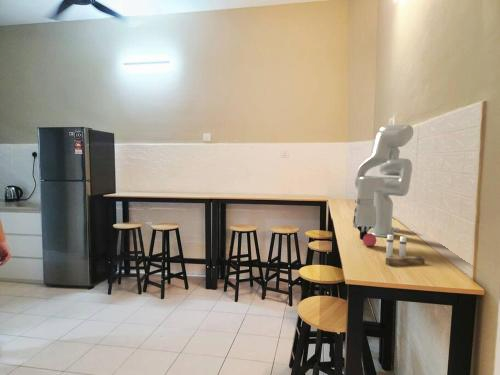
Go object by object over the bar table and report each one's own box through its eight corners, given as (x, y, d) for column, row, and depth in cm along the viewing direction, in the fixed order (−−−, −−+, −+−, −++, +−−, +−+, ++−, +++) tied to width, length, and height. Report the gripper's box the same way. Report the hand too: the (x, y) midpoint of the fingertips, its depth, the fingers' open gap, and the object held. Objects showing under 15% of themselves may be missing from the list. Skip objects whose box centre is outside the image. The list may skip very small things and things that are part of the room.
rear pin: (402, 257, 133) (403, 236, 132) (406, 259, 130) (408, 237, 129) (397, 257, 132) (398, 236, 131) (401, 259, 130) (402, 238, 129)
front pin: (389, 254, 136) (391, 234, 135) (393, 256, 133) (395, 235, 132) (384, 255, 135) (385, 234, 134) (388, 257, 133) (389, 236, 132)
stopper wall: (420, 262, 127) (421, 256, 127) (424, 263, 125) (424, 257, 125) (385, 263, 124) (385, 257, 123) (388, 265, 122) (389, 259, 121)
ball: (371, 244, 152) (372, 232, 152) (378, 247, 146) (379, 235, 146) (360, 244, 151) (360, 232, 150) (367, 248, 145) (367, 235, 145)
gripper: (354, 203, 146) (352, 241, 148) (384, 203, 149) (381, 241, 150) (347, 201, 154) (345, 238, 155) (375, 201, 156) (373, 237, 158)
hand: (363, 239), depth 153 cm, fingers closed
